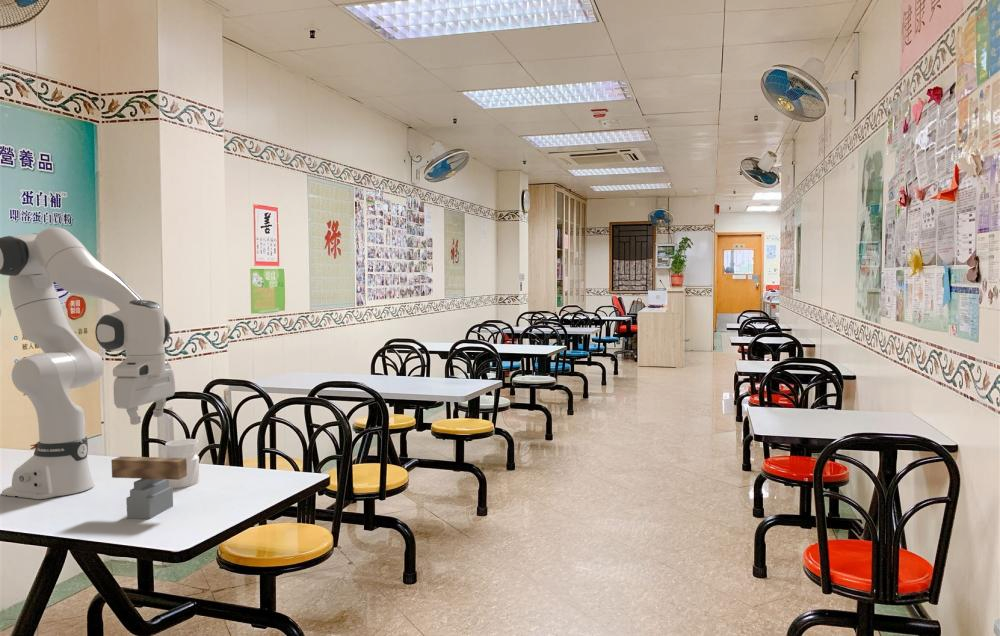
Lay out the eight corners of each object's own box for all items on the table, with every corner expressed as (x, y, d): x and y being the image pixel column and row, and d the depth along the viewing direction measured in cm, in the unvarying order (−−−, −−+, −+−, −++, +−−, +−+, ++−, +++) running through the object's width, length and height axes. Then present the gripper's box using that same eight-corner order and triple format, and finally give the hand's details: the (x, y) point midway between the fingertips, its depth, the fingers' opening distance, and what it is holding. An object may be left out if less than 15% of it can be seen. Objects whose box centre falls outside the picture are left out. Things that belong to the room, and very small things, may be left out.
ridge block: (127, 518, 176) (125, 481, 175) (151, 505, 186) (150, 471, 185) (149, 518, 175) (148, 482, 175) (173, 505, 185) (171, 471, 185)
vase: (191, 477, 212) (189, 437, 212) (205, 482, 206) (204, 441, 206) (161, 483, 206) (159, 442, 205) (175, 489, 200) (173, 447, 199)
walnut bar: (112, 477, 179) (111, 459, 179) (121, 473, 183) (120, 456, 183) (178, 479, 177) (178, 461, 177) (186, 475, 181) (186, 458, 180)
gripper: (158, 360, 189) (159, 412, 190) (107, 370, 169) (109, 428, 170) (181, 360, 188) (182, 412, 189) (132, 370, 168) (133, 429, 169)
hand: (147, 420), depth 179 cm, fingers open, 8 cm apart
